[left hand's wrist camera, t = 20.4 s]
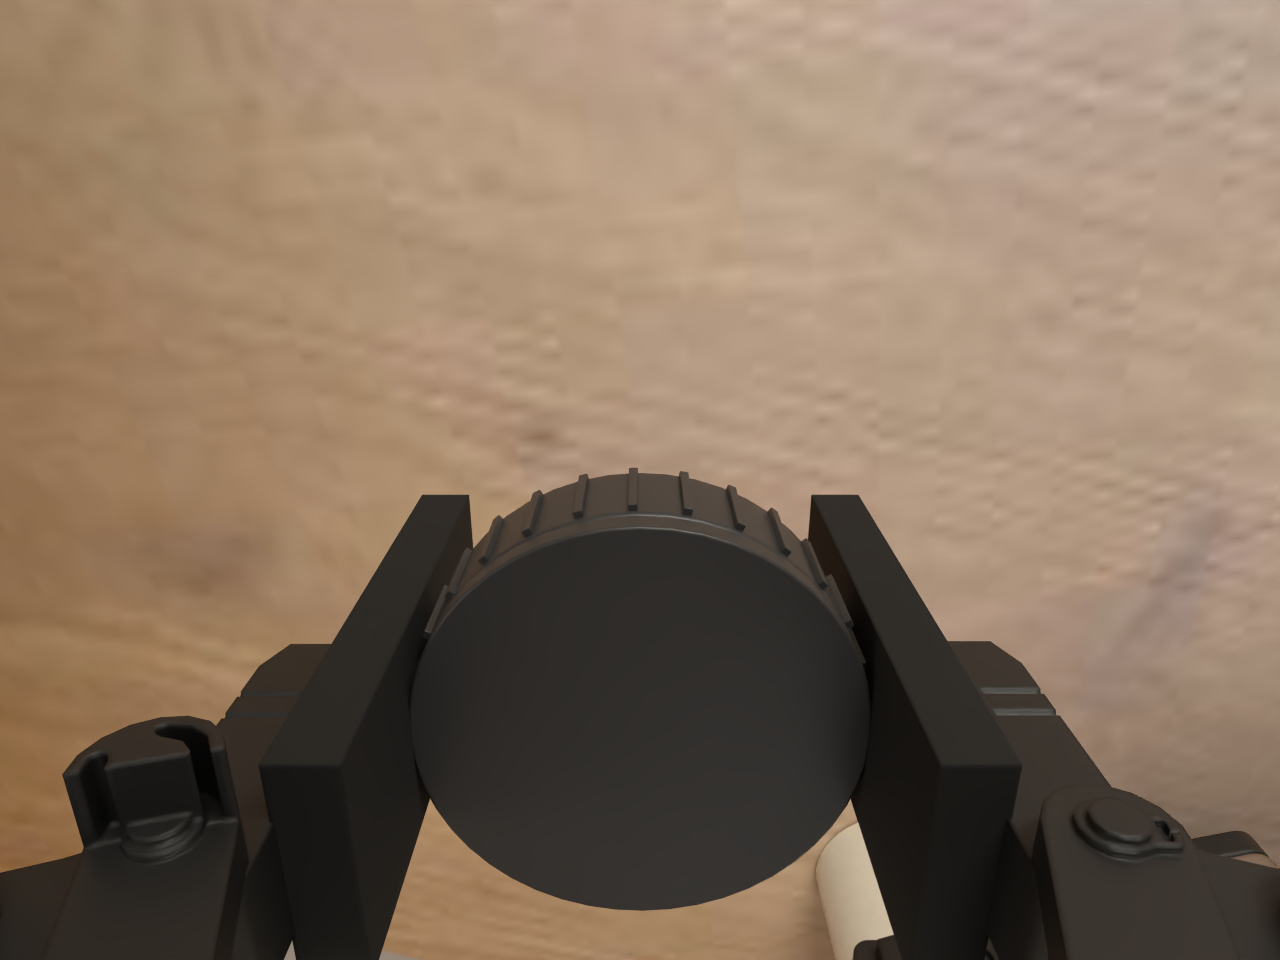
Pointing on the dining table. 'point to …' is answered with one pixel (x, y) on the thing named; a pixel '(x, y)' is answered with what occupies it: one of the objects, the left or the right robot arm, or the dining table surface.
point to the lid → (640, 694)
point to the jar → (850, 893)
